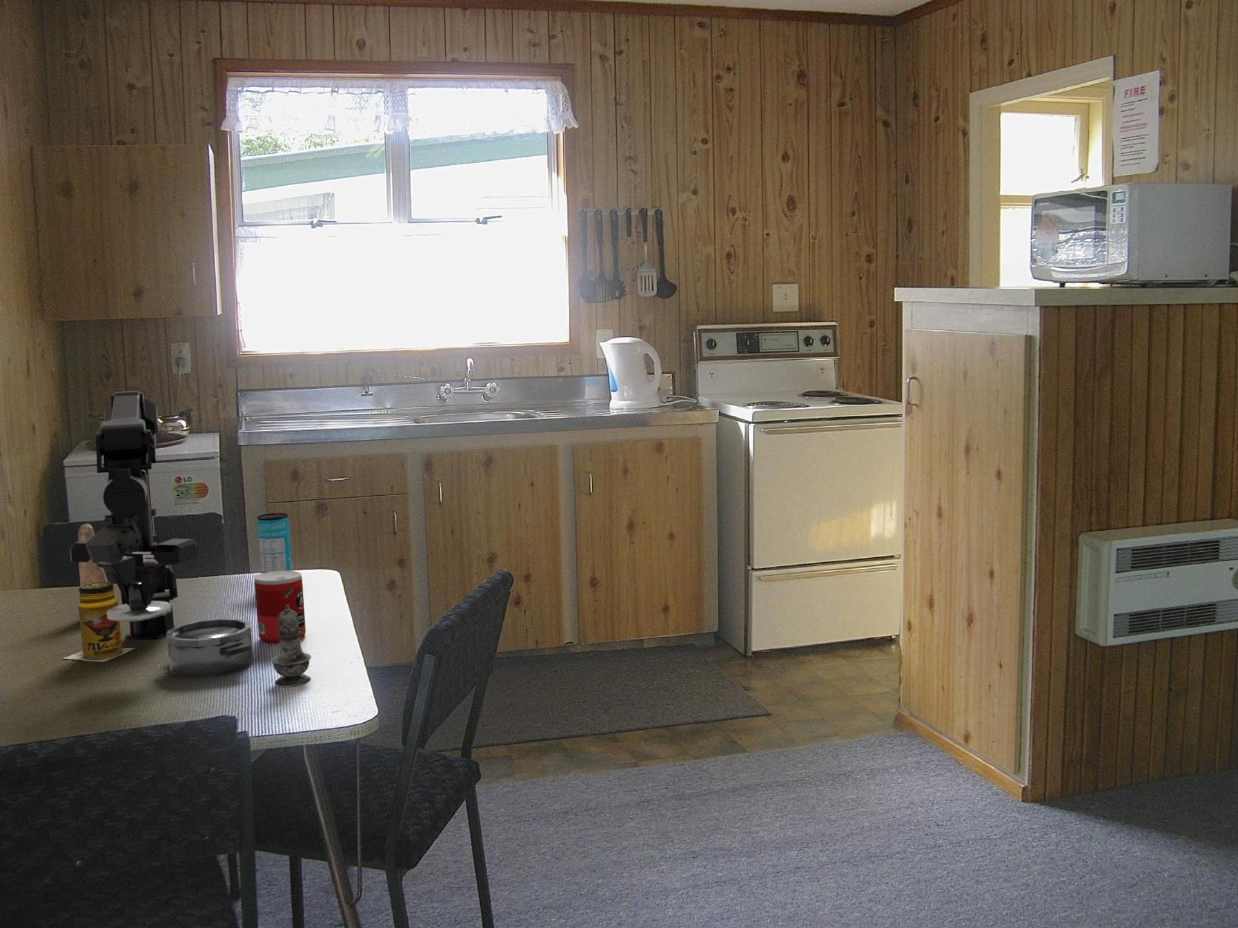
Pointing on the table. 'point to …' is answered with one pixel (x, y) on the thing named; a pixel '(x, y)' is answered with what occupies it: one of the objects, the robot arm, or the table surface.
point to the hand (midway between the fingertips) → (138, 604)
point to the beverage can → (274, 542)
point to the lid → (137, 607)
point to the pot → (209, 648)
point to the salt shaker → (290, 652)
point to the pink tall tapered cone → (89, 569)
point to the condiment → (98, 624)
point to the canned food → (278, 602)
